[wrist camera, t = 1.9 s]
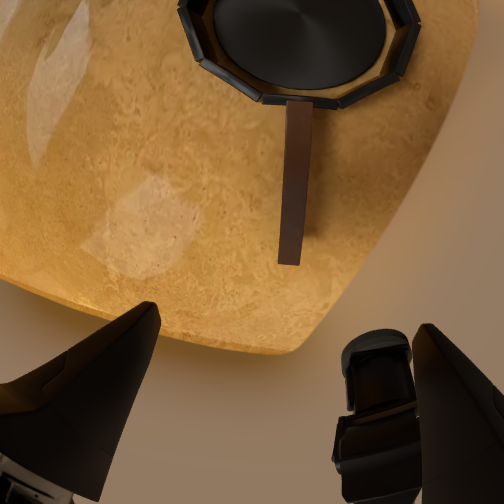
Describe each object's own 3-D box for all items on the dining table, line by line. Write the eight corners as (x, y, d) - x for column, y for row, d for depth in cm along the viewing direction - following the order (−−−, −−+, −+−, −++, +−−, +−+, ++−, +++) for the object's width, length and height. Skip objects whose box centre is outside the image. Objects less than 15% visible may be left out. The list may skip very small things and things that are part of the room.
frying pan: (200, -47, 10) (183, -66, 7) (394, -36, 8) (410, -54, 5) (201, 232, 21) (185, 255, 18) (377, 247, 20) (388, 273, 17)
